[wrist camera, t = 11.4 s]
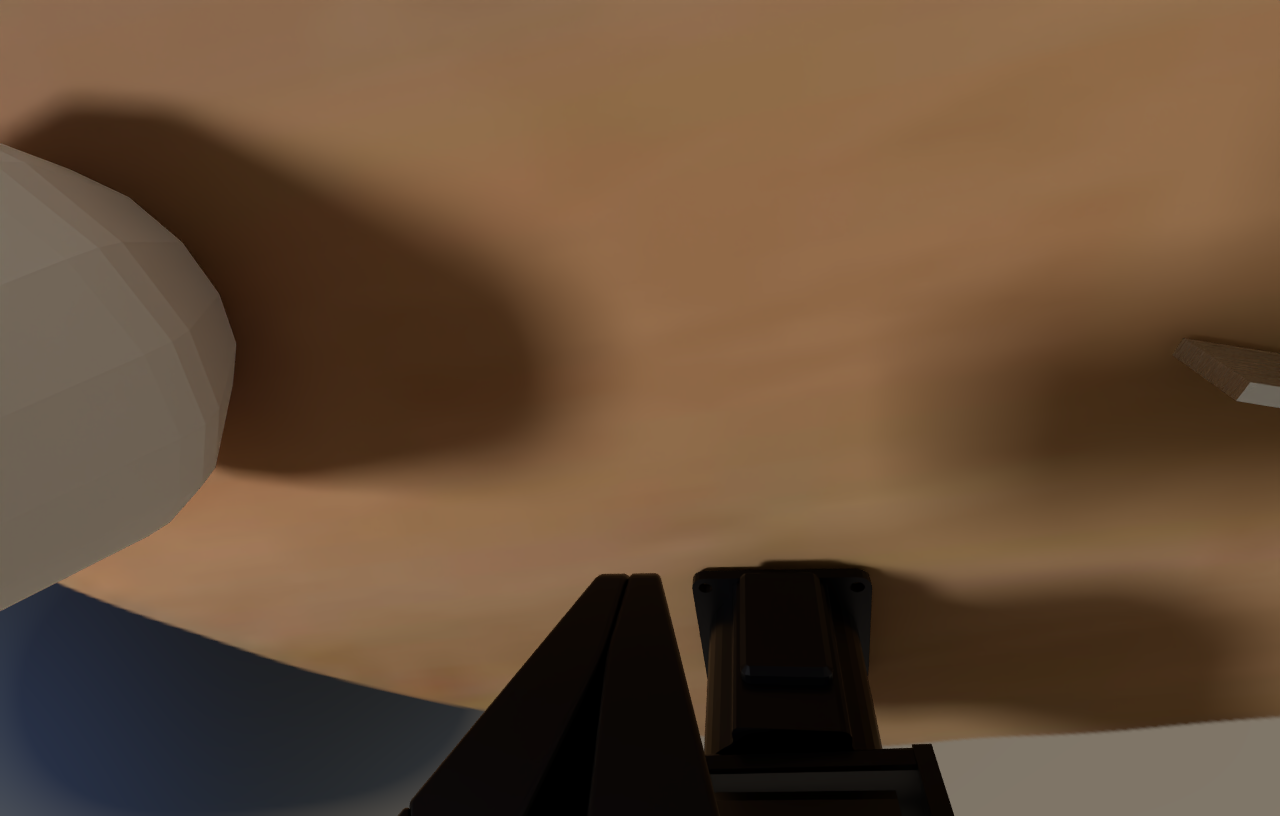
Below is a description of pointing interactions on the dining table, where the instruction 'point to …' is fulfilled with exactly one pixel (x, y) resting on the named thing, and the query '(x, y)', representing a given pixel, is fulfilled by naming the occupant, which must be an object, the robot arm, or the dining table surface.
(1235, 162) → the dining table surface
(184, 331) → the cup
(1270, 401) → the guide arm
